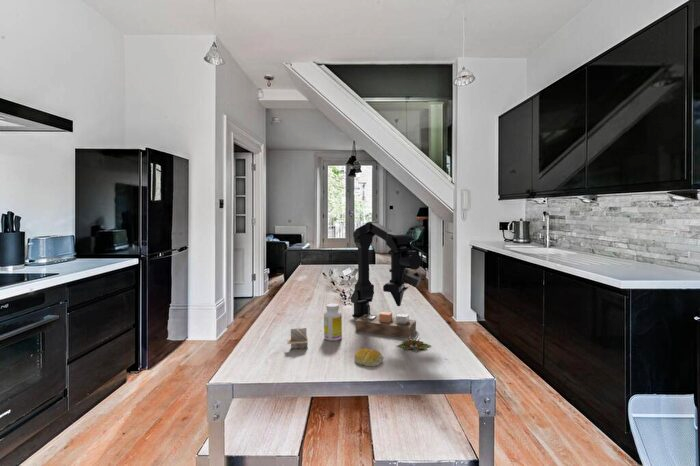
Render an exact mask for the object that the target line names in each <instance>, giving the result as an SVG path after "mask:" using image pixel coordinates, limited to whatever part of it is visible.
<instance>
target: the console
mask: <svg viewBox="0 0 700 466" xmlns="http://www.w3.org/2000/svg"><path fill="white" fill-rule="evenodd" d="M366 315H369V314H365V315H363V316H362V317H358V318H357V319H356V320H355V331H358V332H365V333H372V334H378V335H386V336H391V337H392V336H394V337H399V338H405V339H410V337H411V336H413V334H414V333H415V332H416V331H417V320H415V319H409V323H408V324H407V325H402V324H396V317H392V321H391V322H390V323H387V322H379V315H377V314H375V315H374V314H370V315H371V316H376V319H374V320H373V321H372V320H364V319H363V317H365V316H366ZM409 334H410V335H411V336H410V335H409ZM409 336H410V337H409Z"/></svg>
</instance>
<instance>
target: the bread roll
mask: <svg viewBox="0 0 700 466" xmlns="http://www.w3.org/2000/svg"><path fill="white" fill-rule="evenodd" d="M354 361H355V363H356V364H358V365H360V366H365V367H377V366H379V365H380V364H381V363H382V362H383V361H384V357H383V355H382V353H381V352H380V351H378V350H376V349H372V350H371V349H369V348H360V349H359V350H357V351H356V352H355V354H354Z"/></svg>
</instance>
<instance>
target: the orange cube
mask: <svg viewBox="0 0 700 466" xmlns="http://www.w3.org/2000/svg"><path fill="white" fill-rule="evenodd" d="M378 316H379V322H387V323H390V322H391V321H392V318H393V312H391V311H382V312H380V313H379V314H378Z"/></svg>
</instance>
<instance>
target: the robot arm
mask: <svg viewBox="0 0 700 466" xmlns="http://www.w3.org/2000/svg"><path fill="white" fill-rule="evenodd" d="M352 235H353V241H354V244H355V246H356V247H357V272H358V273H357V281H356V283H355V285H354V291H353V293H352V294H351V296H350V302H351V303H352V304H353V314H352V317H357V318H360V317H362V316H363V315H365V314H369V315H371V305H370V303H372V302H373V299H374V295H375V290H374V288H375V285H374V284H372V282H371V281H370V247H371V246H372V243H373V239H374V237H375V236H377V237H378V238H380V239H382V240H383V241H385V245H386V246H387V247H388V248H389V249H390V250H388V252H387V254H388V255H390V268H389V269H388V270H389V271H388V272H389V273H390V276H391V278H390V279H389V282H387V283H385V284H383V287H382V291H383V292H386V293H390V294H391V296H392V298H393V300H394V302H395V304H396V306H397V307H400V306H401V304H402V301H403V297H404V294H405V291H407V290H408V289H409V287H408V286H407V287H406V284H407V285H409V286H412V287H413V288H417V287H418V286H419V285H420V282H421V281H422V277H421V276H420V275H421V273H419V272H418V271H416V272H414V273H410V272H409V269H411V270H414V271H415V270H418V269H419V268H420V267H421V266H422V259H421V256H420V255H419V254H418V251H417V250H414V248H413V245H412V244H411V242H410V240H409V238H408V235H407V234H404V233H401V232H398V231H397V232H396V231H393V230H391V229H389V228H388V227H386V226H384V225H382V224H380V223H379V221H376V220H375V221H374V220H373V221H367V222H366V223H365V224H363V225H361V226H359V227H358V228H355V230H354V231H353V234H352Z"/></svg>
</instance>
